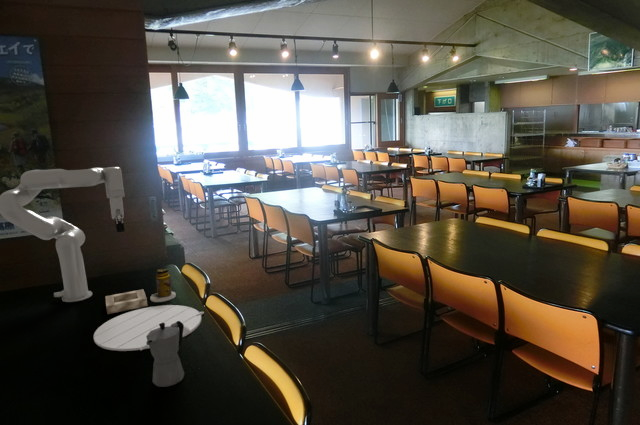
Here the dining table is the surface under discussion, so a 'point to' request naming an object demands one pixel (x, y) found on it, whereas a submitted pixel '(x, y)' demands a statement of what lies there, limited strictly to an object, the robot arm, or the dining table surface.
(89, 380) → the dining table surface
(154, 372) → the coffeepot
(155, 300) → the coaster
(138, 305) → the holder
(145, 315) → the lazy susan
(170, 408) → the dining table surface
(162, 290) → the condiment
